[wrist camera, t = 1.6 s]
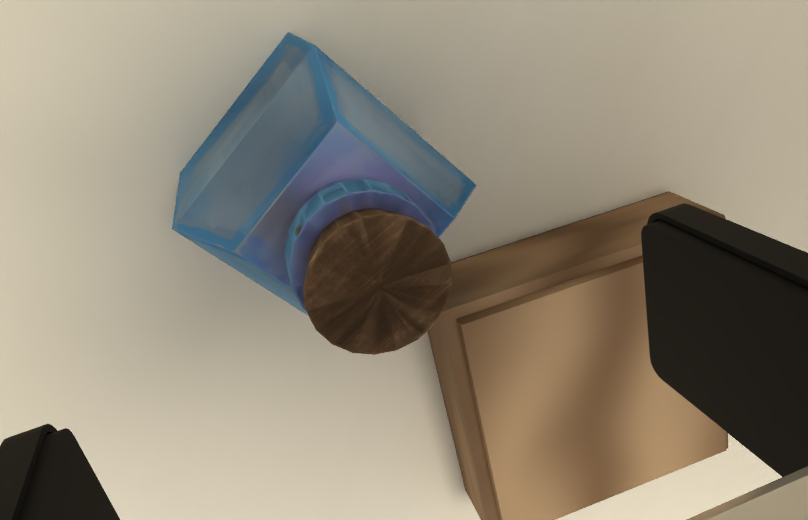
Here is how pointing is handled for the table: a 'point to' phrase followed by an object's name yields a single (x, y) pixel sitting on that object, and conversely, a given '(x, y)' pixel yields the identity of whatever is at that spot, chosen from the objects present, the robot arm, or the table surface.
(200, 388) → the table surface
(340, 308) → the perfume bottle
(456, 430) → the pedestal
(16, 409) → the table surface
